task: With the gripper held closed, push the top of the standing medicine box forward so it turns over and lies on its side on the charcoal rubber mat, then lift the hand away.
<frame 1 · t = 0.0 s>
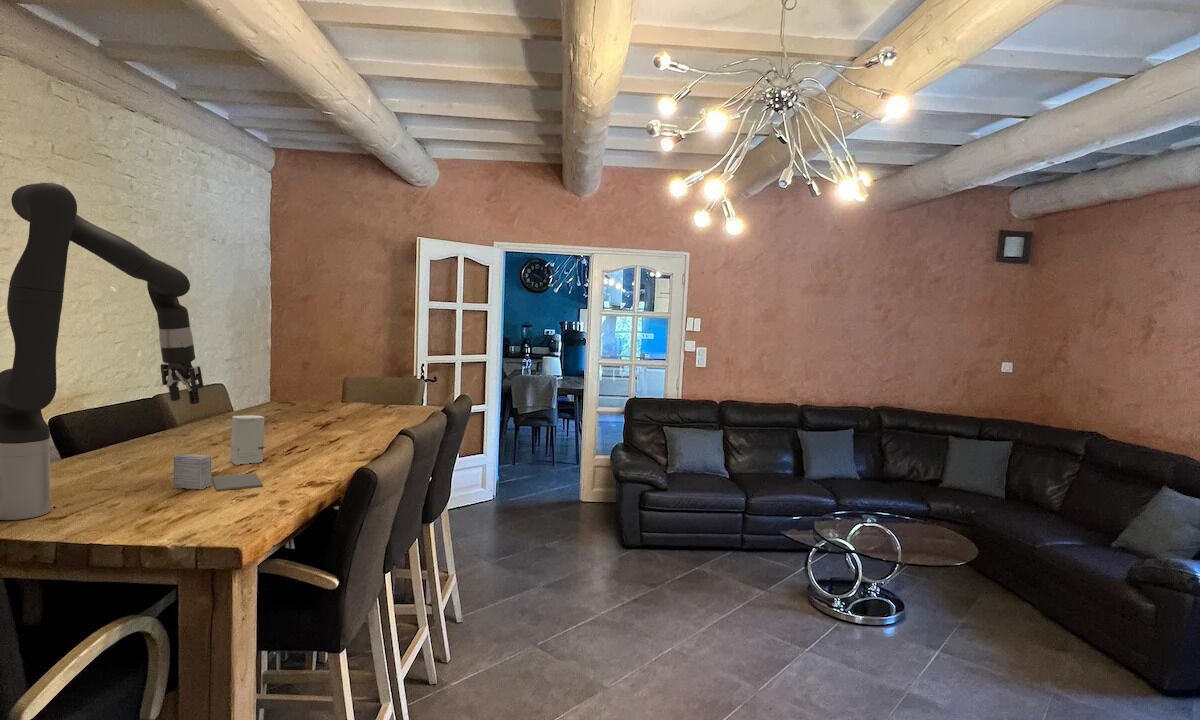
hand: (185, 401, 175), 22 cm above the table, tool pointing down, fingers open, 8 cm apart
skincare box: (247, 462, 201), on the table
medicine box: (192, 488, 171), on the table
rubber mat: (236, 482, 177), on the table
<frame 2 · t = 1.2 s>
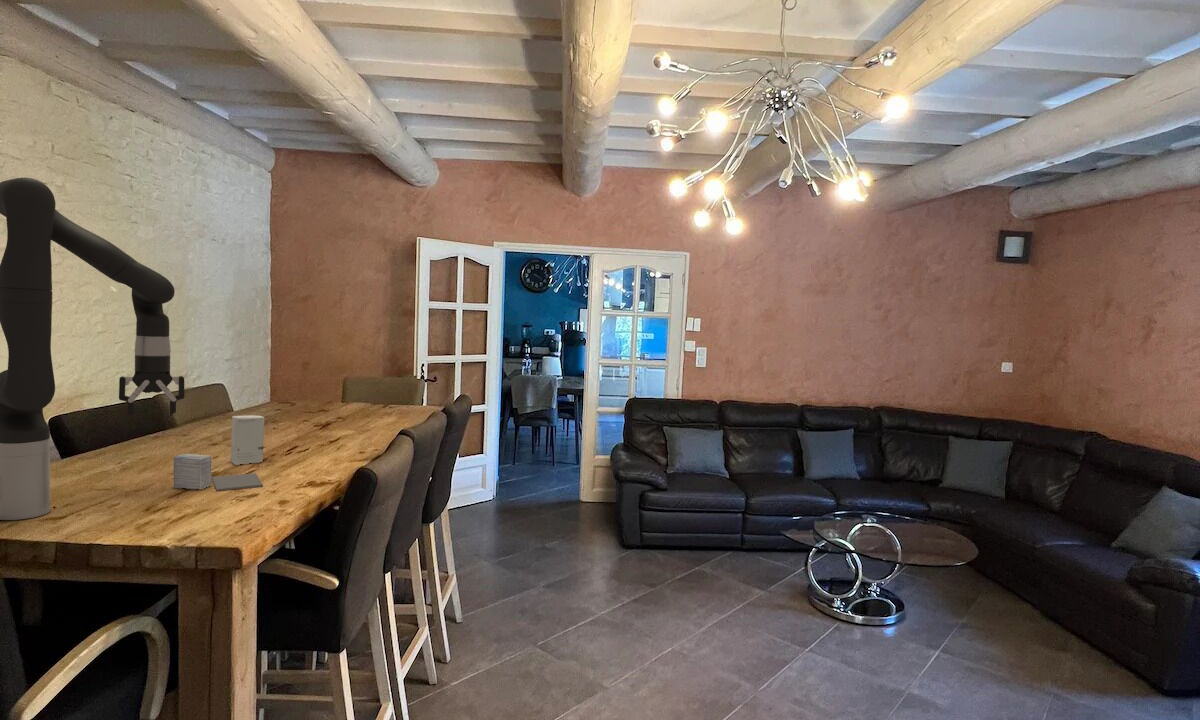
hand: (152, 416, 165), 20 cm above the table, tool pointing down, fingers open, 7 cm apart
nothing on the table moved.
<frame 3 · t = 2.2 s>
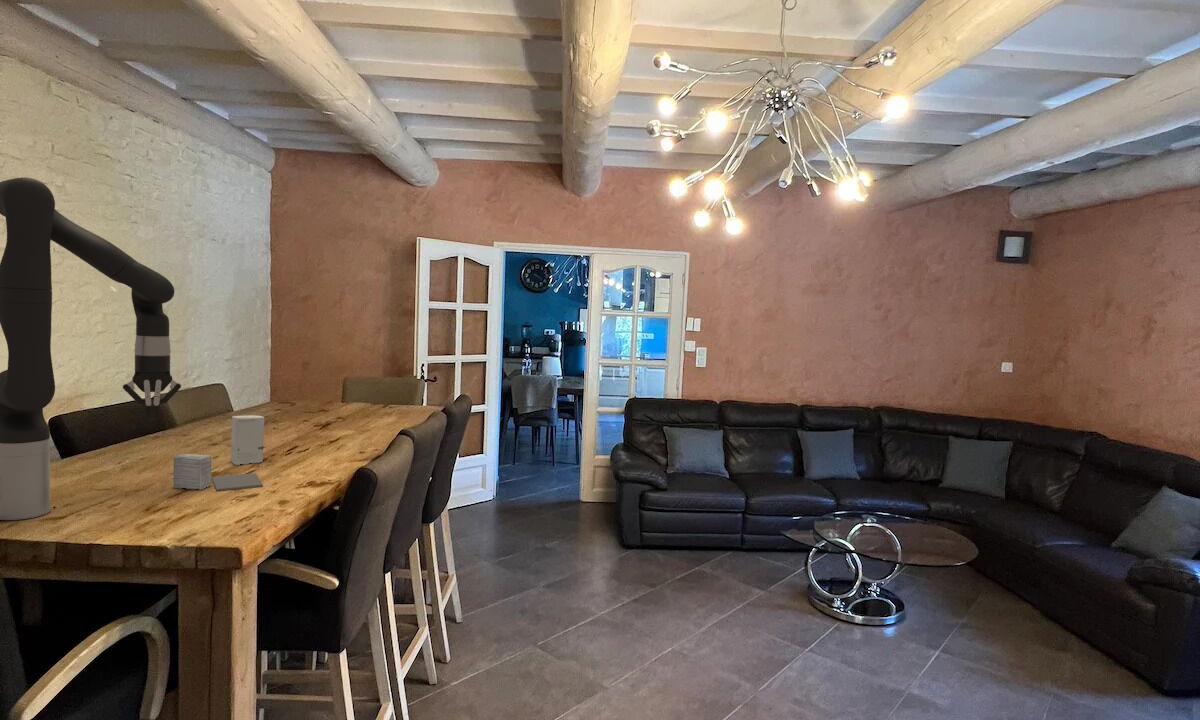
hand: (152, 419, 165), 19 cm above the table, tool pointing down, fingers closed
nothing on the table moved.
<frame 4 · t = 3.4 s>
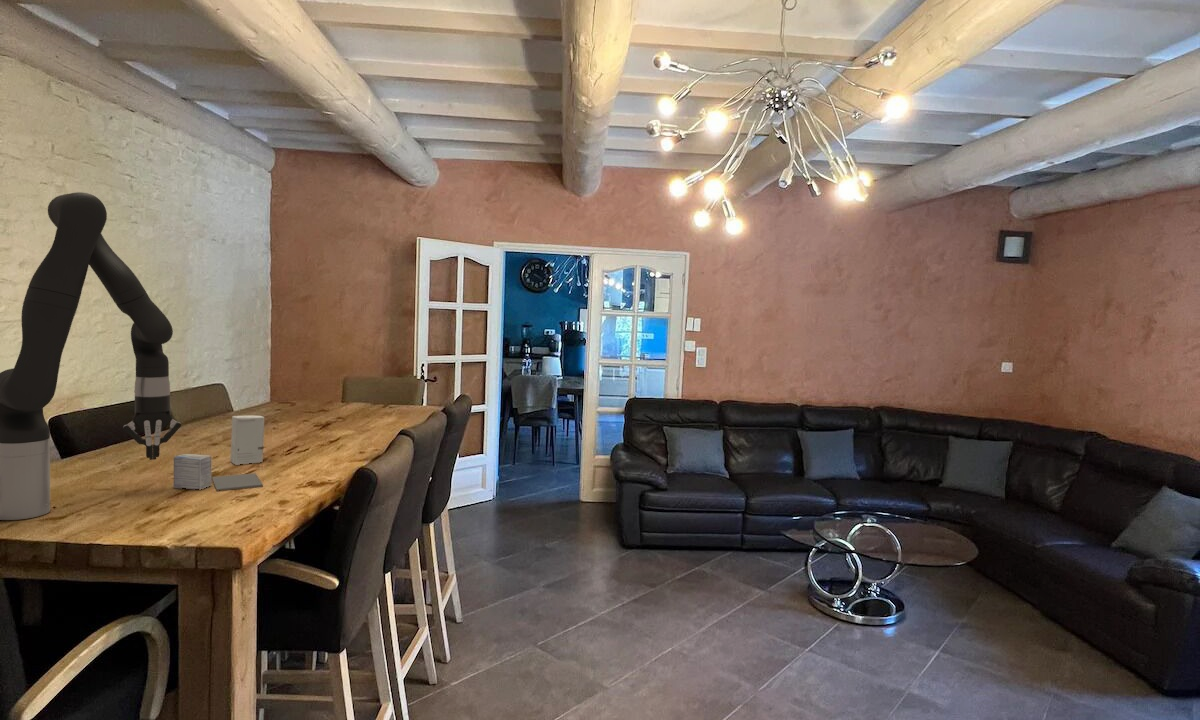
hand: (152, 459, 166), 9 cm above the table, tool pointing down, fingers closed
nothing on the table moved.
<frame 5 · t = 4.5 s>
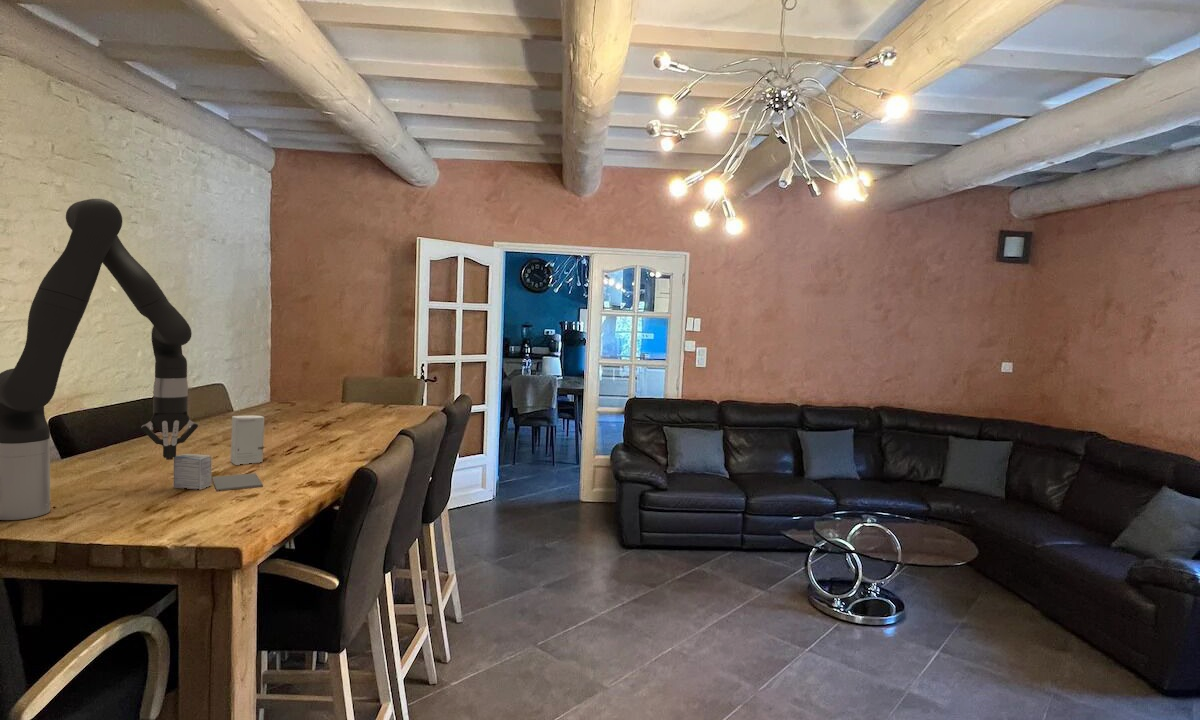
hand: (169, 459, 168), 8 cm above the table, tool pointing down, fingers closed
medicine box: (192, 488, 171), on the table, touching gripper
everything else where it was.
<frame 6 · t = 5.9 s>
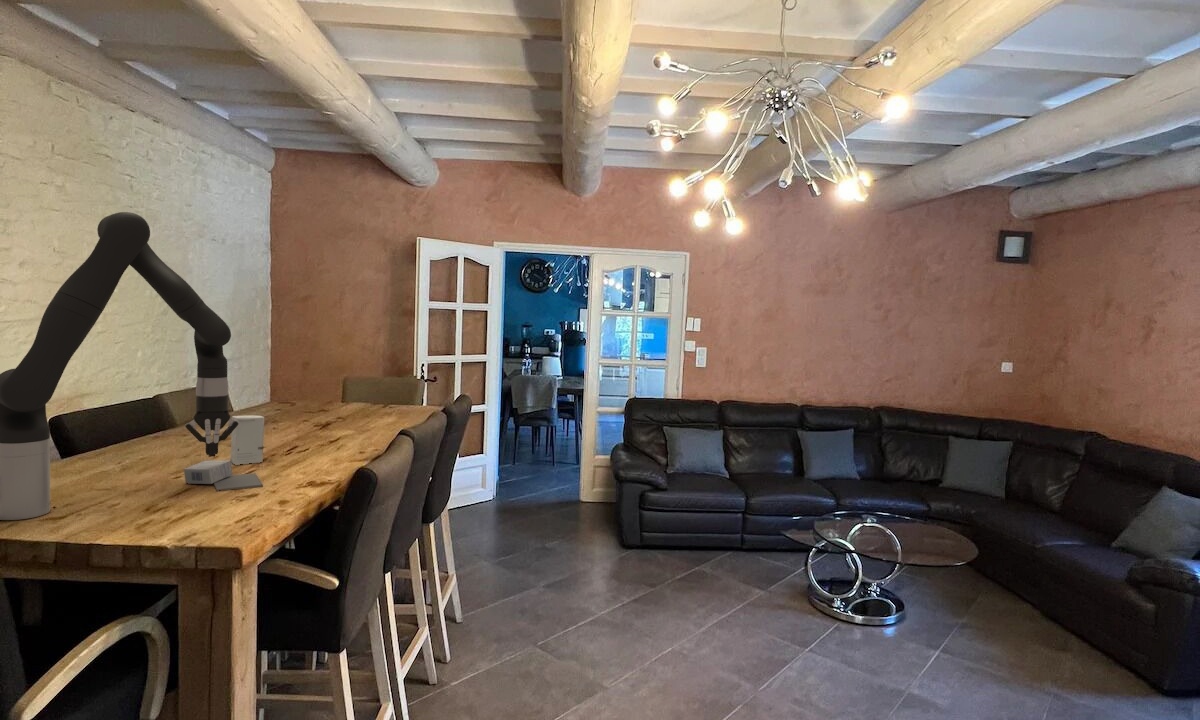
hand: (211, 456, 173), 8 cm above the table, tool pointing down, fingers closed
medicine box: (196, 476, 173), point 2 cm above the table, touching rubber mat
everything else where it was.
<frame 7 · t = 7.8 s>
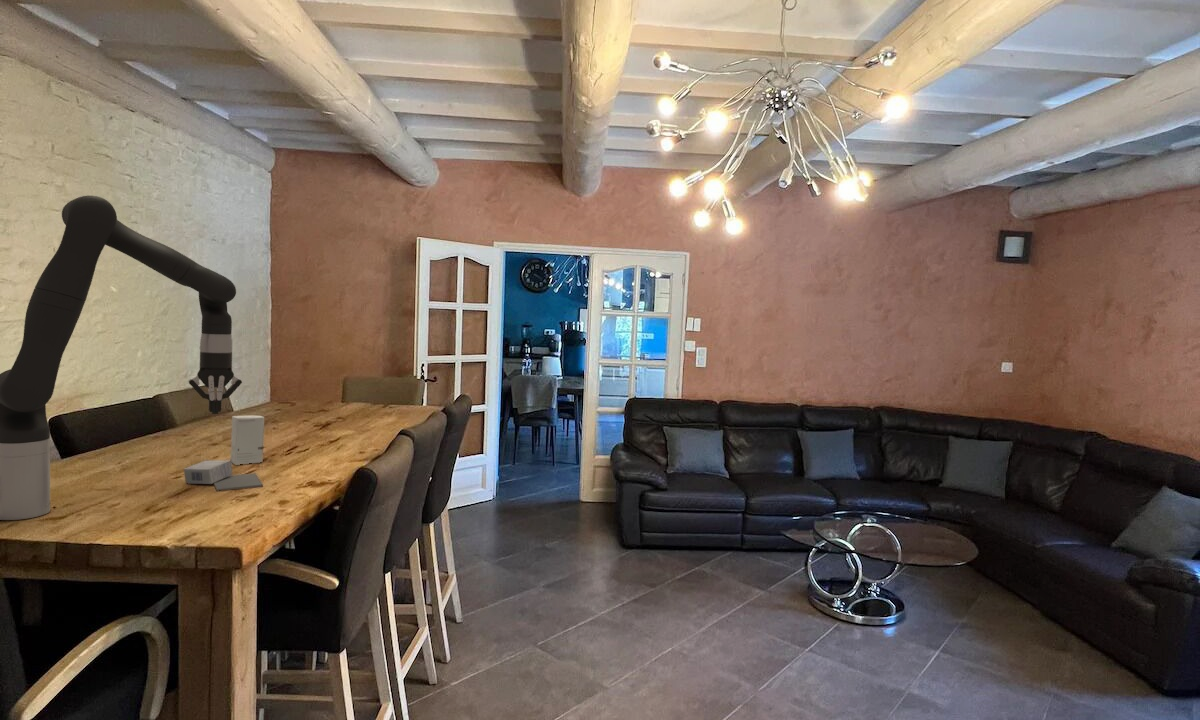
hand: (215, 413, 173), 20 cm above the table, tool pointing down, fingers closed
nothing on the table moved.
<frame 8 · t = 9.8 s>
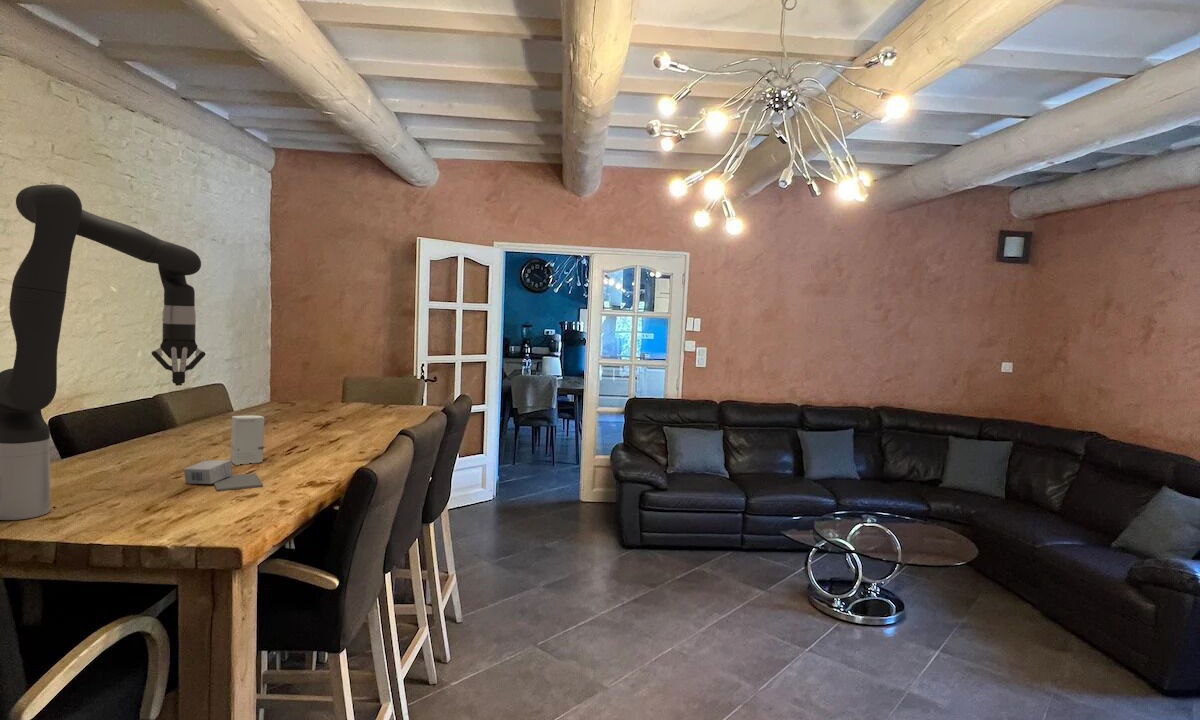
hand: (178, 385, 174), 27 cm above the table, tool pointing down, fingers closed
nothing on the table moved.
at the end: medicine box tilted 86°; medicine box touching rubber mat, table; medicine box inside the target area (5.2 cm from its centre), point 2.4 cm above the table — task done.
